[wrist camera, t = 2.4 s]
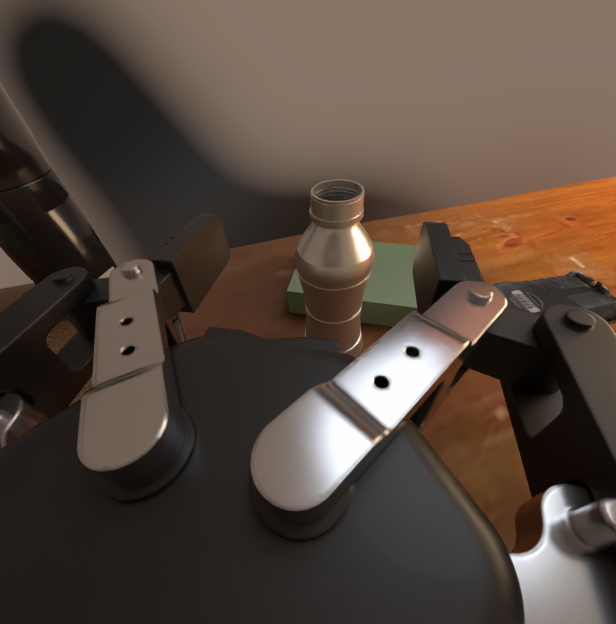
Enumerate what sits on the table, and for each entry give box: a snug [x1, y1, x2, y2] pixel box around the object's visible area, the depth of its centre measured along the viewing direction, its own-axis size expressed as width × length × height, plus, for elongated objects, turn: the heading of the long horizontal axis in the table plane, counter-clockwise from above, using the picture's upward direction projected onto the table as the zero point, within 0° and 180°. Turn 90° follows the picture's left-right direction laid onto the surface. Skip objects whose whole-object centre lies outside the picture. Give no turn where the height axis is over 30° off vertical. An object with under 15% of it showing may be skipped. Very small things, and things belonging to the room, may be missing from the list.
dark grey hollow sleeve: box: [492, 270, 616, 325], centre depth 36 cm, size 9×6×15 cm
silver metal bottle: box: [295, 179, 375, 358], centre depth 27 cm, size 6×7×20 cm
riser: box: [286, 242, 418, 327], centre depth 41 cm, size 17×13×4 cm
